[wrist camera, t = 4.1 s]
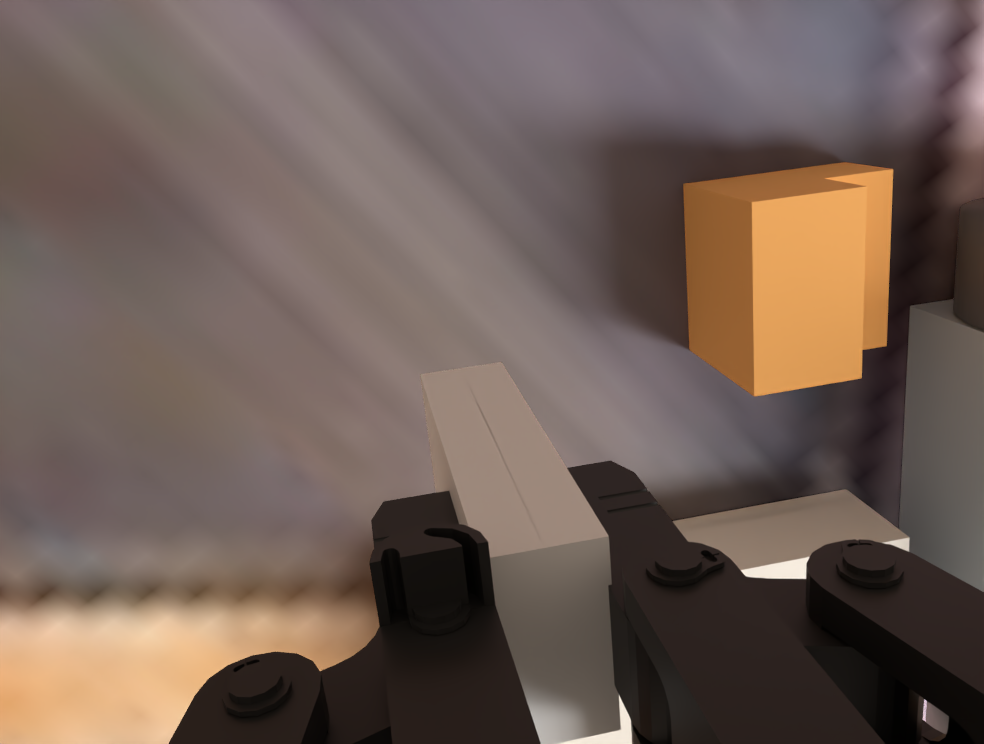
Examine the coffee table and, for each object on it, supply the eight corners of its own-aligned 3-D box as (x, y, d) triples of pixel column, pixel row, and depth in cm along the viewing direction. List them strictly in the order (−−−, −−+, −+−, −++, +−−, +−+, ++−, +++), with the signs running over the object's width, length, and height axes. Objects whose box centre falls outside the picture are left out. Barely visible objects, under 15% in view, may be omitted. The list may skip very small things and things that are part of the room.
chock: (687, 348, 27) (754, 396, 23) (681, 183, 26) (751, 202, 21) (839, 324, 28) (931, 366, 24) (842, 161, 26) (941, 176, 22)
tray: (476, 905, 32) (494, 995, 29) (429, 566, 28) (443, 628, 24) (836, 819, 34) (890, 894, 31) (846, 488, 30) (909, 537, 26)
